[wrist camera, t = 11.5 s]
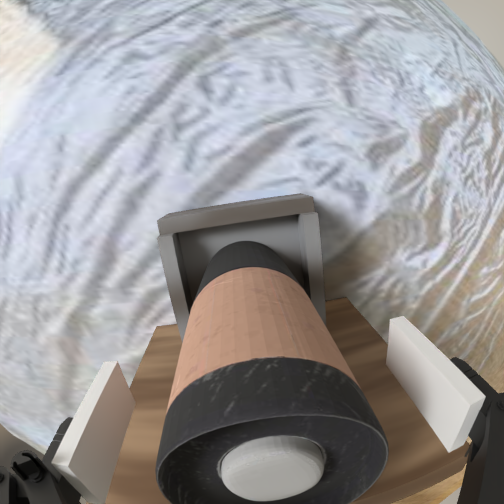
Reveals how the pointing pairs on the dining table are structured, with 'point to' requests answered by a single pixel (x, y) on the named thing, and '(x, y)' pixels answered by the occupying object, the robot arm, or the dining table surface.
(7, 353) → the dining table surface
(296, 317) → the travel mug
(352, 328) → the l-shaped stand
